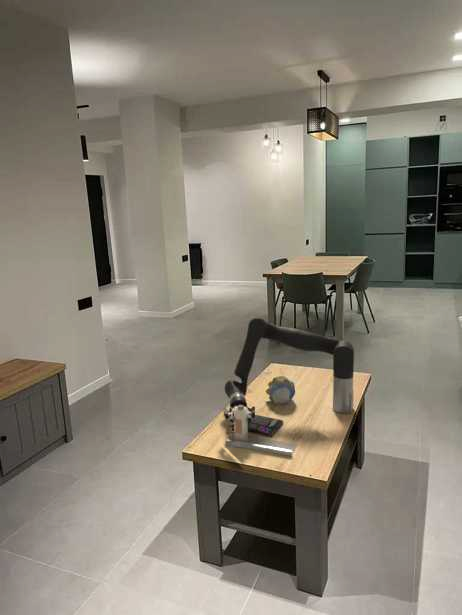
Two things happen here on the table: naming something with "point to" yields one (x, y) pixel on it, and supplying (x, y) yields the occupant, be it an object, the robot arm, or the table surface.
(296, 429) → the table surface
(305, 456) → the table surface
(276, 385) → the decorative rock
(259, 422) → the box
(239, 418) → the cream bottle
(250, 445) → the rail
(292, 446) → the shelf board
